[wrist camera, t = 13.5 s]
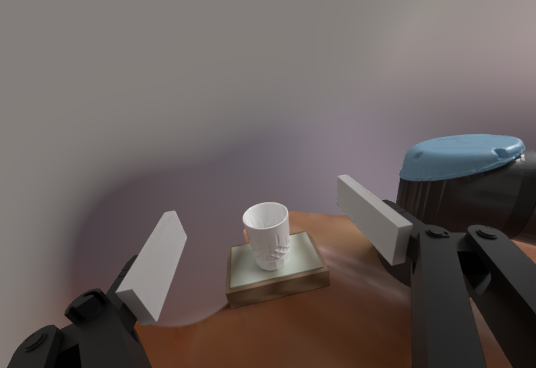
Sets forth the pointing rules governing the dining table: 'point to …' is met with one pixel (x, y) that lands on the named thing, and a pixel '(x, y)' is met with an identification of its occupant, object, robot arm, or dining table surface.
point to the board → (274, 273)
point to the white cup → (268, 234)
